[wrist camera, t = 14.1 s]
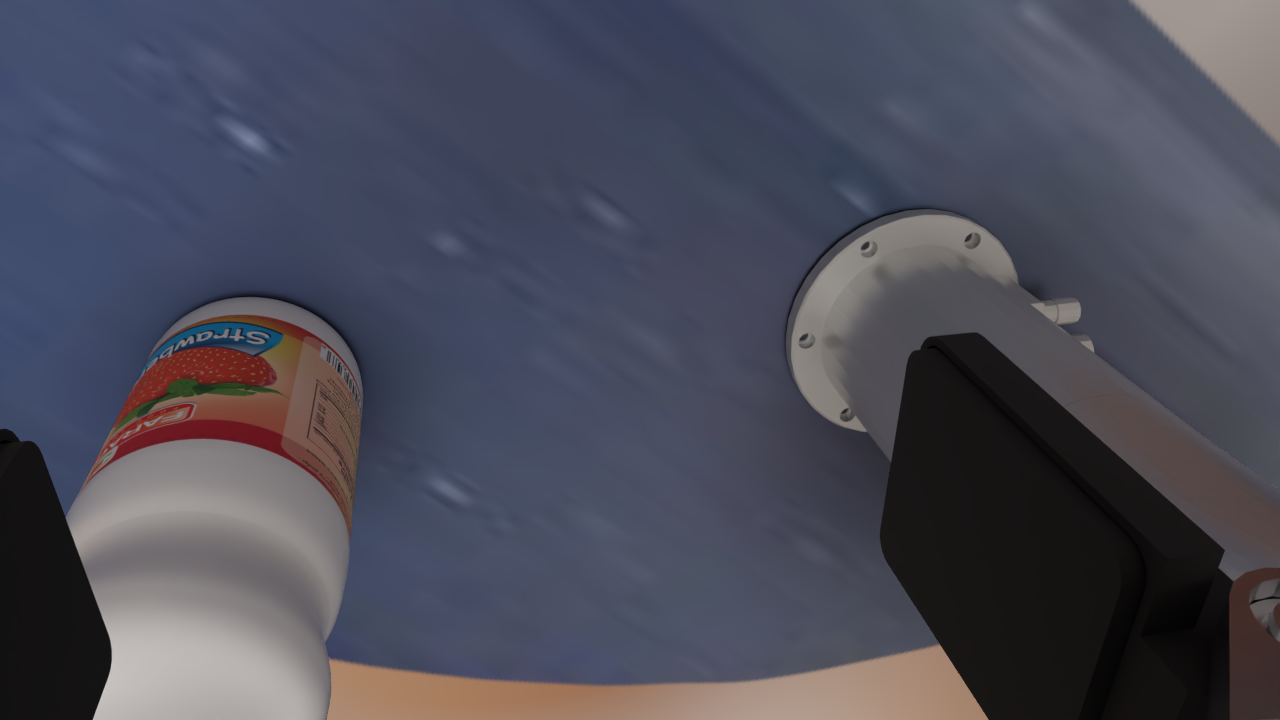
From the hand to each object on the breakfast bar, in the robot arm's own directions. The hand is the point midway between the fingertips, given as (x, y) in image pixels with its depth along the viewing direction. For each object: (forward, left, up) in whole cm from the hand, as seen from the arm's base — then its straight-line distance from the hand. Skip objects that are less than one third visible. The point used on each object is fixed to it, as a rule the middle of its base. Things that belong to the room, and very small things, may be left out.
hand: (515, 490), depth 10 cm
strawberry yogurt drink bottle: (+10, +16, -32) cm, 38 cm away
